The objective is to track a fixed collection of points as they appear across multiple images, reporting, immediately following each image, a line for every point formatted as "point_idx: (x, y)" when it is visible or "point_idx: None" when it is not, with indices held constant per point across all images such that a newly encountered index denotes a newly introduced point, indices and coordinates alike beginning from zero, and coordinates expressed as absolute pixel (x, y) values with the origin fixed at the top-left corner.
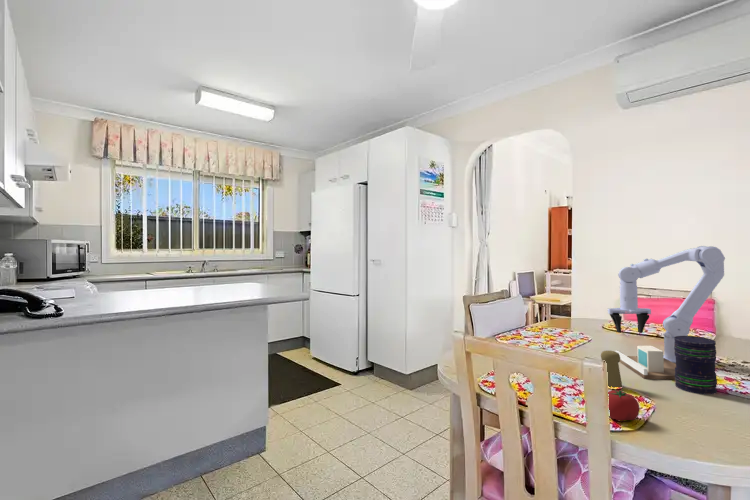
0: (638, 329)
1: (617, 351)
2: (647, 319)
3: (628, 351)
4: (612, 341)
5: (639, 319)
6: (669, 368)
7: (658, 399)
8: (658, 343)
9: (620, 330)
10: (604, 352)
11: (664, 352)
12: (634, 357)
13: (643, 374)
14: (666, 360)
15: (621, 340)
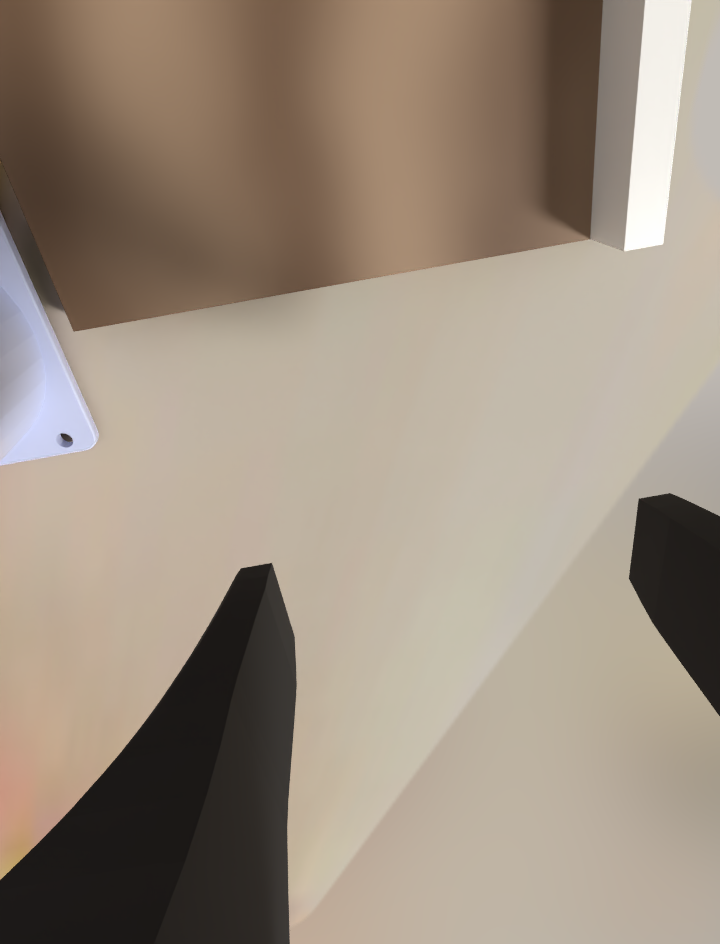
0: (289, 665)
1: (651, 192)
2: (15, 873)
3: (356, 557)
4: (395, 783)
5: (258, 898)
6: None
7: None
8: None
9: (678, 516)
10: None
11: (16, 391)
12: (410, 197)
13: None
14: (22, 132)
15: (321, 817)
